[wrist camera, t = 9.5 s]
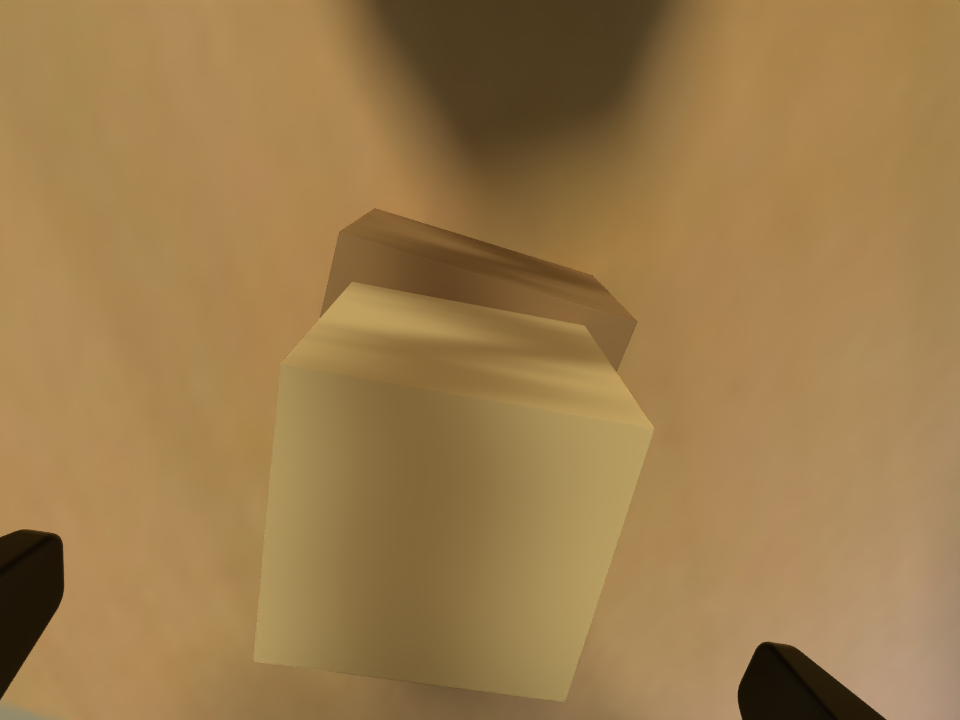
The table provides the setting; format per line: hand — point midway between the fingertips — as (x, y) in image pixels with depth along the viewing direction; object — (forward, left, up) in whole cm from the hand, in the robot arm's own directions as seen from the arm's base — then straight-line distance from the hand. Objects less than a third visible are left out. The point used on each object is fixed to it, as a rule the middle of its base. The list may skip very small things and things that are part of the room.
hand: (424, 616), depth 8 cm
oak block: (0, 0, -6) cm, 6 cm away
